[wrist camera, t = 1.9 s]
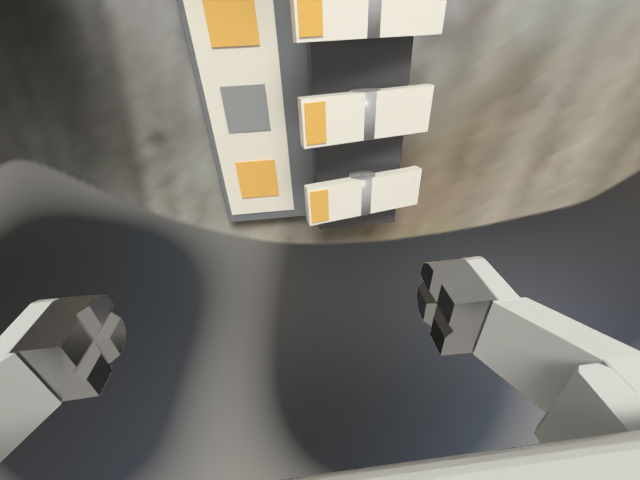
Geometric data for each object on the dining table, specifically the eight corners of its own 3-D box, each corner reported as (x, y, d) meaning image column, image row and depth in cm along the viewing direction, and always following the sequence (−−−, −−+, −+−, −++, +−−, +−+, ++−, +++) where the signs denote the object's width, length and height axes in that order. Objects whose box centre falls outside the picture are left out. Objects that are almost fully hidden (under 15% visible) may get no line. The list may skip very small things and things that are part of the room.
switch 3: (408, 161, 31) (422, 169, 29) (404, 194, 33) (417, 204, 31) (300, 179, 28) (307, 189, 26) (303, 214, 30) (310, 226, 28)
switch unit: (399, -69, 25) (426, -91, 20) (380, 202, 38) (393, 225, 34) (167, -61, 24) (140, -83, 19) (231, 215, 37) (224, 241, 32)
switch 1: (430, -25, 23) (452, -31, 21) (423, 34, 25) (442, 34, 23) (283, -24, 20) (291, -30, 18) (288, 42, 22) (297, 42, 20)
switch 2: (418, 81, 27) (435, 85, 25) (412, 125, 29) (428, 131, 27) (293, 94, 24) (301, 99, 22) (297, 141, 26) (304, 149, 24)
